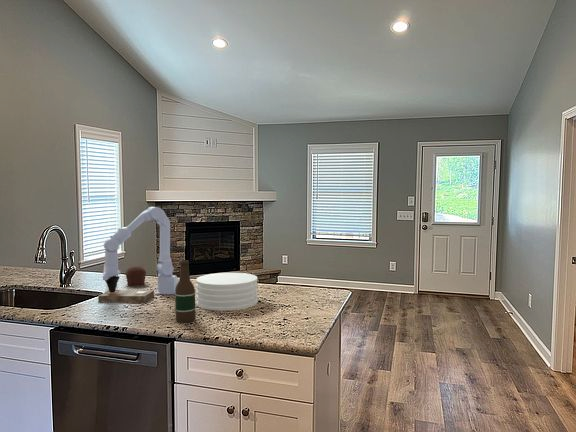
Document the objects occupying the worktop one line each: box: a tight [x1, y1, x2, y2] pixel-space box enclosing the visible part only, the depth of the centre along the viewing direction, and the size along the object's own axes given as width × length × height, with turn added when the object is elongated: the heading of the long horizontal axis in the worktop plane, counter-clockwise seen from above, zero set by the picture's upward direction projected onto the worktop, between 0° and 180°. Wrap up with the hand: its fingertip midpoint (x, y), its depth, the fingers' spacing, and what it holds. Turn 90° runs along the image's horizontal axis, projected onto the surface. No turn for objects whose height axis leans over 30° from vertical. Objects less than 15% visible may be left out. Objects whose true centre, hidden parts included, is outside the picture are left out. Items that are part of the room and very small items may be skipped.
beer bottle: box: [174, 259, 196, 324], centre depth 173 cm, size 8×8×24 cm
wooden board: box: [97, 289, 155, 304], centre depth 209 cm, size 22×12×3 cm, turn 87°
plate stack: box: [195, 272, 259, 312], centre depth 202 cm, size 28×28×12 cm
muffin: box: [124, 265, 147, 287], centre depth 242 cm, size 12×11×10 cm
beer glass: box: [103, 262, 119, 293], centre depth 223 cm, size 7×7×15 cm
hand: (112, 292), depth 209 cm, fingers closed, pressing on terracotta key
